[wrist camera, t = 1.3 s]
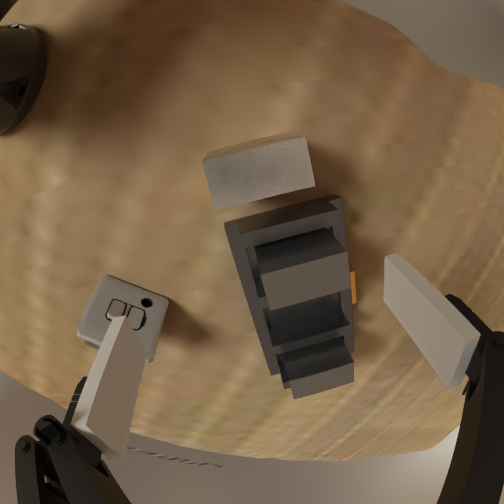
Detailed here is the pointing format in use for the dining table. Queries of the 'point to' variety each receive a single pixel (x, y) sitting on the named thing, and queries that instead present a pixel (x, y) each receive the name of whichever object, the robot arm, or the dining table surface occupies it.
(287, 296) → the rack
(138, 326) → the electrical switch
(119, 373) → the robot arm
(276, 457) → the dining table surface
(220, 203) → the grey block
